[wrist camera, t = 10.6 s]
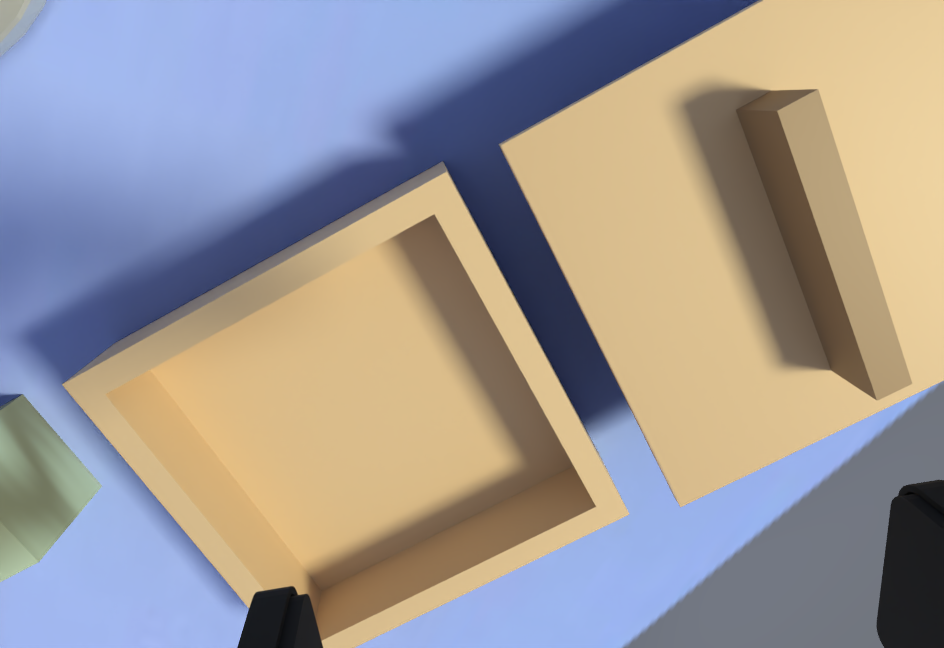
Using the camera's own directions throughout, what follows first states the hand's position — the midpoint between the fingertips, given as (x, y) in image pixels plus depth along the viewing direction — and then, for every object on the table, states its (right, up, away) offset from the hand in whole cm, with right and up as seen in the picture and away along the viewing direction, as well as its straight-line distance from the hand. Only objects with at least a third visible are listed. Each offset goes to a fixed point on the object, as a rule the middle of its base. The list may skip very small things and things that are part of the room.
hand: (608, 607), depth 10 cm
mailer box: (-6, +1, +18) cm, 19 cm away
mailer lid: (+9, +7, +12) cm, 17 cm away
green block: (-21, -2, +17) cm, 28 cm away
